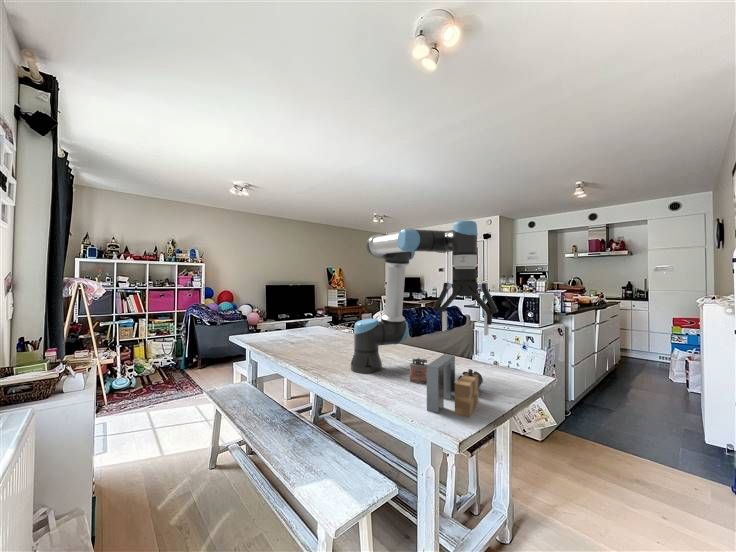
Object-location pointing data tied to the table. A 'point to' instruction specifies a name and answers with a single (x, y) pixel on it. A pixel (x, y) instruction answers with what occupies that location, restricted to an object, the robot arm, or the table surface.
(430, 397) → the housing
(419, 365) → the lighter
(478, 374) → the end cap
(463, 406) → the plug
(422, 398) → the table surface
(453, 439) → the table surface
